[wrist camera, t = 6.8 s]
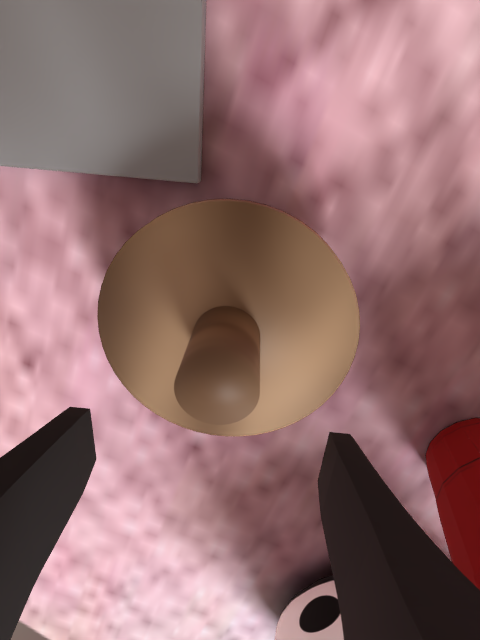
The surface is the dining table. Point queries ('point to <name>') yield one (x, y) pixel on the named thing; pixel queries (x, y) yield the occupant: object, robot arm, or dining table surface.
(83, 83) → the mat
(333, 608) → the white black patterned jar
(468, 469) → the plastic cup
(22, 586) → the robot arm
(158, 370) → the lid
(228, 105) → the dining table surface
